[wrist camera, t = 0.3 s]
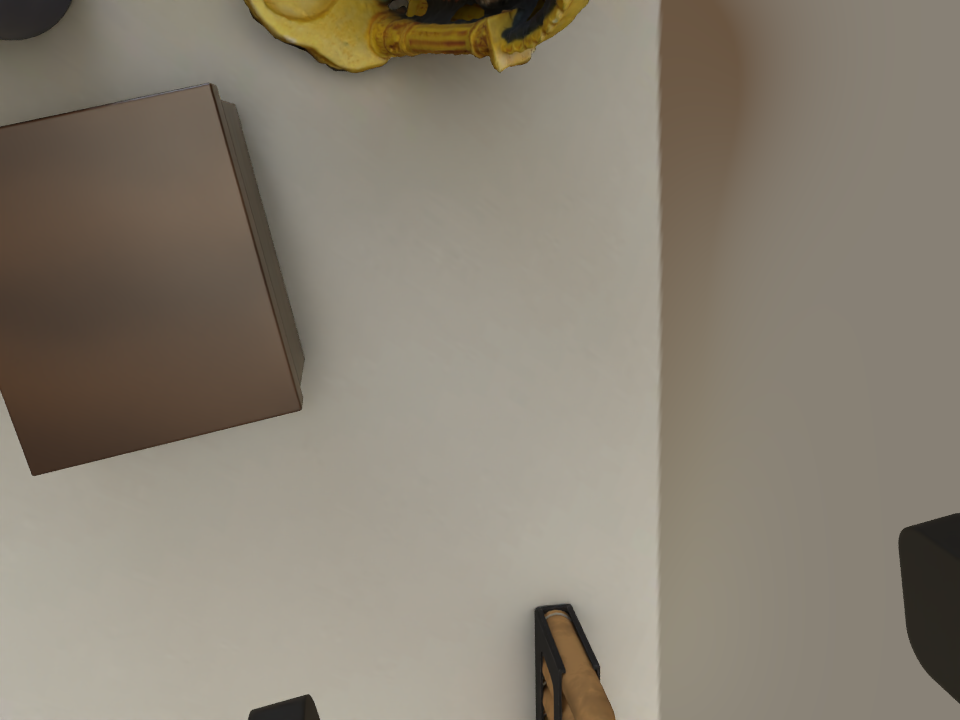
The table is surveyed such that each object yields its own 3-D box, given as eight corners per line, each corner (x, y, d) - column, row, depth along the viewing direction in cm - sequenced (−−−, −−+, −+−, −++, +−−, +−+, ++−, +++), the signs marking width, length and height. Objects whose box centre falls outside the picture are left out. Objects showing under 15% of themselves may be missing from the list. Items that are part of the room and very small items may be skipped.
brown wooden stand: (-21, 144, 35) (-92, 145, 29) (231, 91, 36) (210, 81, 30) (78, 426, 38) (32, 477, 33) (308, 370, 39) (302, 410, 34)
